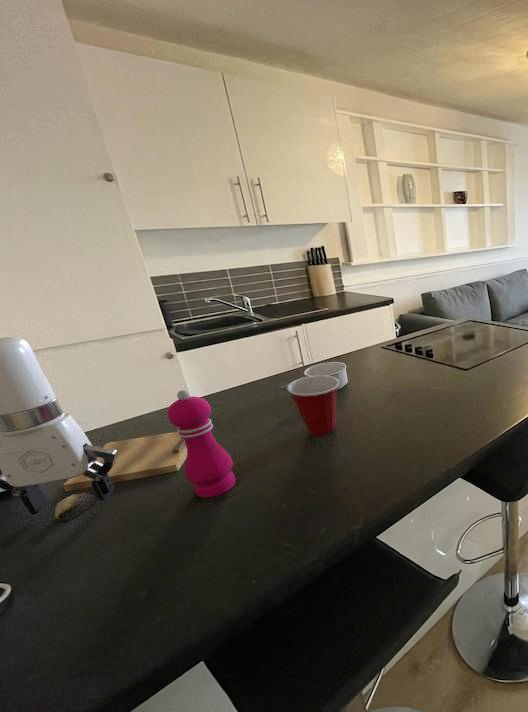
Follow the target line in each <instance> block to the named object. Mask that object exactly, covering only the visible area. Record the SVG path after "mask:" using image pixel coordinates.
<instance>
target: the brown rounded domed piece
mask: <svg viewBox="0 0 528 712" xmlns="http://www.w3.org/2000/svg"><path fill="white" fill-rule="evenodd" d="M97 500H99V498H98V497H97V495H93V494H90V493H87V492H82V493H73V494H71V495H70V496H69V495H68V496H67V497H65V498H63V499H62V500H60V501H59V502H58V503H57V504H56V505H55V509H54V517H55V518H56V520H59V521H62V522H67V521H69V520H73V519H74V518H76V517H77V516H78V515H81V514H82V513H84V512H86V511H87V509H89V508H90V507H91V506H93V505H94V504H95V502H97Z"/></svg>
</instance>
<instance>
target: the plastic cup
mask: <svg viewBox="0 0 528 712" xmlns="http://www.w3.org/2000/svg"><path fill="white" fill-rule="evenodd" d="M339 382H340V381H339V380H338V379H337V378H334V377H331V376H323V375H322V376H309V377H306V376H305V377H301V378H298V379H294V380H293V381H291V382H290V384H289V383H288V384H289V385H288V387H287V391H288V392H289V394H290V395H291V396H292V398H293V401H294V402H295V404H296V407H297V409H298V411H299V414H300V416H301V418H302V421H303V422H304V424H305V426H306V428H307V431H308V432H309V433H310V435H312V436H318V437H319V436H325V435H328V434H330V433H332V432H333V431H334V430H335V429H336V426H337V417H336V415H337V393H338V390H337V387H338V386H339ZM327 433H328V434H327ZM324 434H325V435H324Z"/></svg>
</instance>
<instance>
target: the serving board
mask: <svg viewBox="0 0 528 712" xmlns="http://www.w3.org/2000/svg"><path fill="white" fill-rule="evenodd" d="M101 447H102V448H107V449H113V450H117V451H118V455H117V458H116V460H115V464H114V466H113V467H112V468H111V470H110V471H109V472H108V475H109V477H110V480H111V482H112V484H115V483H120V482H126V481H131V480H136V479H142V478H147V477H152V476H158V475H164V474H168V473H170V474H171V473H175V472H178V471H180V469H181V467H182V466H183V464H185V462H186V458H187V446H186V443H185V440H184V438H183V437H180V436H179V432H178V431H172V432H166V433H160V434H154V435H147V436H142V437H141V436H140V437H136V438H135V437H133V438H129V439H123V440H118V441H117V440H116V441H110V442H106V444H104V445H103V446H101ZM97 462H99V463H101V464H104V459H103V458H100V457H97ZM90 469H92V468H90ZM92 470H94V469H92ZM94 471H96V470H94ZM96 472H98V471H96ZM93 481H94V480H93V479H91V478H89V477H86V476H84V475H80V476H78V477H75V478H70V479H67V480H66V482H64V483H63V484H62V487H63V489H64V490H65V493H66V492H71V491H76V490H82V489H88V488H93V486H92V482H93Z"/></svg>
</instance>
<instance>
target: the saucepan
mask: <svg viewBox="0 0 528 712" xmlns="http://www.w3.org/2000/svg"><path fill="white" fill-rule="evenodd" d="M303 374H304V375H305V377H309V376H322V375H323V376H331V377H334V378H337V379H338V380H339V381H340V382H339V386H338V387H337V391H339V390H340V389H342V388H343V387H344V386H345V385H347V384H348V382H349V379H348V375H347V364H346V363H344V362H339V361H329V362H323V363H317V364H314V365H312V366H309V367H308V368H306V369H305V370H304V371H303ZM290 383H291V382H290ZM290 383H286V384H284V385H282V386H280V387H279V390H280V391H284V390H286V389H287V387H288V385H289V384H290ZM287 390H288V389H287Z"/></svg>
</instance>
